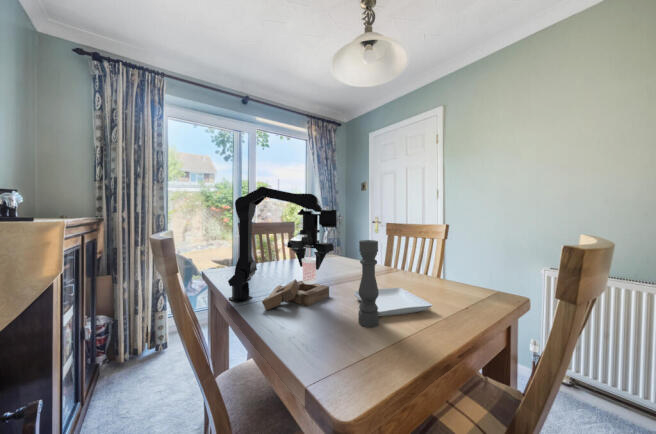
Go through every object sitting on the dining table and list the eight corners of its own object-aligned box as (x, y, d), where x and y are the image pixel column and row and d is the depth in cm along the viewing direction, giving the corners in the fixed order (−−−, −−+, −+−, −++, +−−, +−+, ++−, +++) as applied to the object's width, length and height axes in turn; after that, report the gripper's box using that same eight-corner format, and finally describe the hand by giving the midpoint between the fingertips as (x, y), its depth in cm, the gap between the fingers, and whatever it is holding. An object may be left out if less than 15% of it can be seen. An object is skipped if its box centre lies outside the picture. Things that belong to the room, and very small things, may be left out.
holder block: (278, 298, 97) (278, 288, 97) (301, 289, 107) (301, 280, 107) (308, 306, 88) (308, 295, 88) (329, 296, 99) (329, 286, 99)
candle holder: (380, 320, 77) (380, 240, 76) (377, 328, 71) (377, 242, 71) (360, 317, 79) (360, 239, 79) (356, 325, 73) (356, 241, 73)
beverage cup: (314, 279, 98) (314, 244, 97) (319, 284, 92) (320, 246, 92) (299, 281, 95) (299, 245, 95) (303, 285, 90) (304, 247, 89)
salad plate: (351, 299, 97) (351, 290, 97) (399, 294, 102) (399, 286, 102) (375, 322, 76) (375, 311, 76) (434, 315, 82) (434, 304, 81)
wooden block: (290, 288, 84) (297, 276, 102) (261, 301, 84) (273, 287, 102) (294, 298, 84) (301, 284, 102) (265, 311, 84) (277, 295, 102)
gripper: (277, 226, 92) (276, 268, 92) (315, 229, 81) (315, 276, 82) (297, 225, 101) (296, 263, 102) (334, 228, 90) (334, 270, 91)
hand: (309, 268), depth 94 cm, fingers closed on beverage cup, 7 cm apart
